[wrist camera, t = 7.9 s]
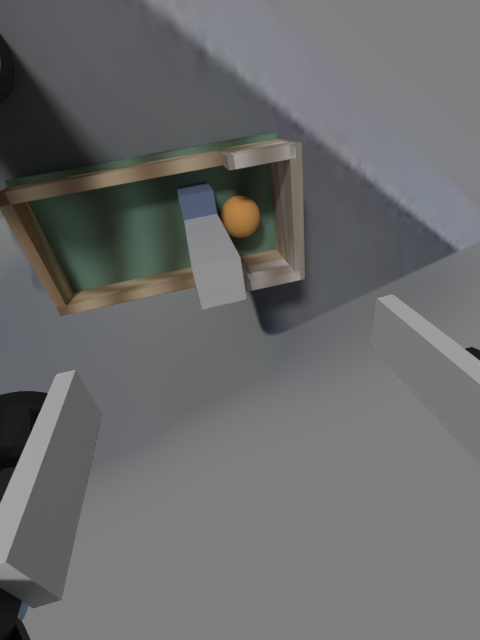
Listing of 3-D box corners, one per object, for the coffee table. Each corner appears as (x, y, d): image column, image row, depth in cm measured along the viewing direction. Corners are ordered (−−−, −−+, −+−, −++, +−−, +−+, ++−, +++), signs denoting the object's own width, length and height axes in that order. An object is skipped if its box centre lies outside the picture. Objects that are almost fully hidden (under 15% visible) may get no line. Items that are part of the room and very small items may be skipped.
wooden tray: (73, 299, 36) (52, 339, 29) (11, 179, 28) (-36, 196, 22) (281, 255, 38) (305, 283, 31) (272, 132, 30) (301, 135, 24)
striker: (193, 254, 34) (208, 333, 21) (176, 187, 30) (183, 235, 17) (219, 249, 34) (250, 324, 21) (207, 181, 30) (235, 224, 18)
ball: (254, 226, 34) (219, 235, 33) (250, 188, 32) (212, 196, 31) (268, 237, 31) (229, 246, 30) (264, 195, 28) (222, 204, 28)
